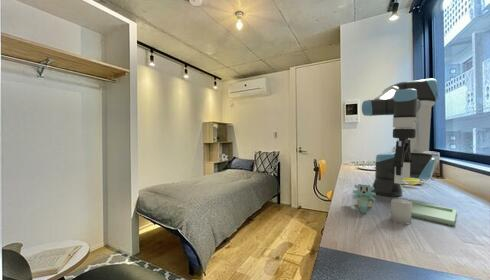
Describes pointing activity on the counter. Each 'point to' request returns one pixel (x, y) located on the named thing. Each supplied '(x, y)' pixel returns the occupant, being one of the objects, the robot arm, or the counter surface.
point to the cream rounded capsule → (401, 210)
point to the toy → (364, 196)
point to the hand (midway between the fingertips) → (402, 180)
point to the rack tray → (434, 213)
